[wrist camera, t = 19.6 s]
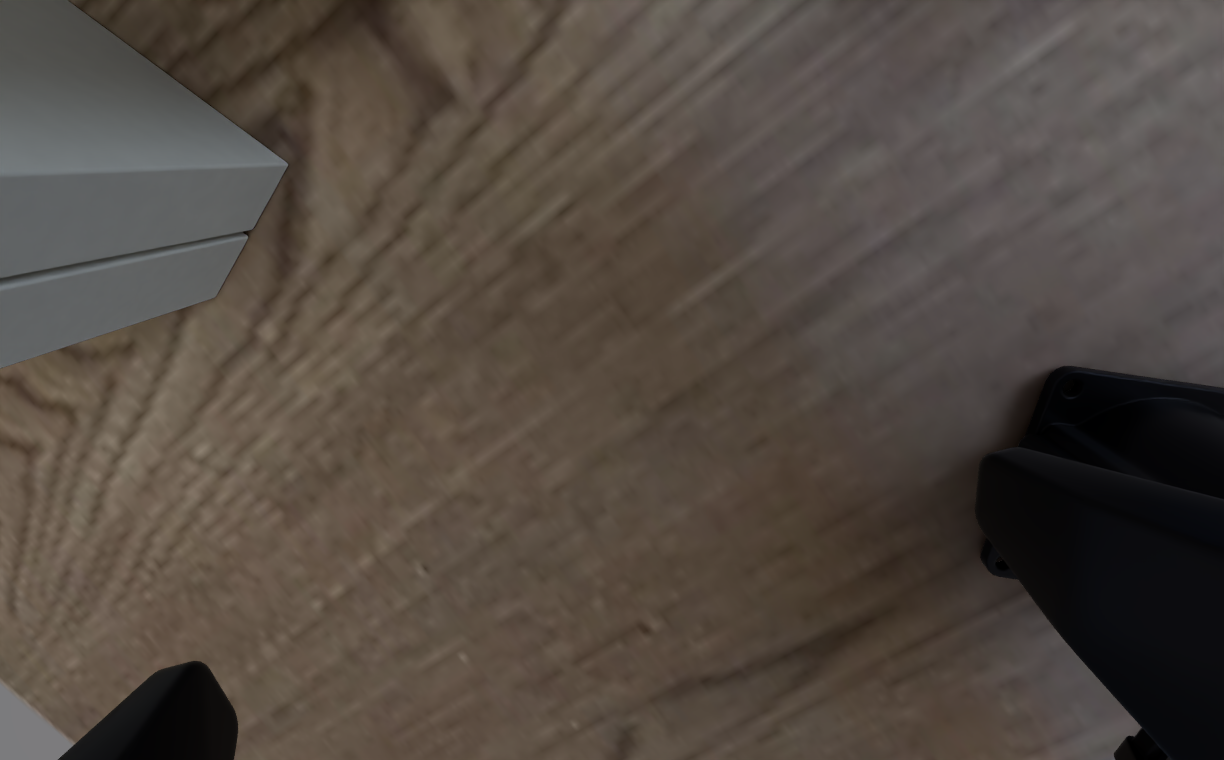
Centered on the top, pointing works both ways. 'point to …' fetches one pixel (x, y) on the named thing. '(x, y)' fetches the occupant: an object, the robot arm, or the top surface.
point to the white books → (109, 184)
